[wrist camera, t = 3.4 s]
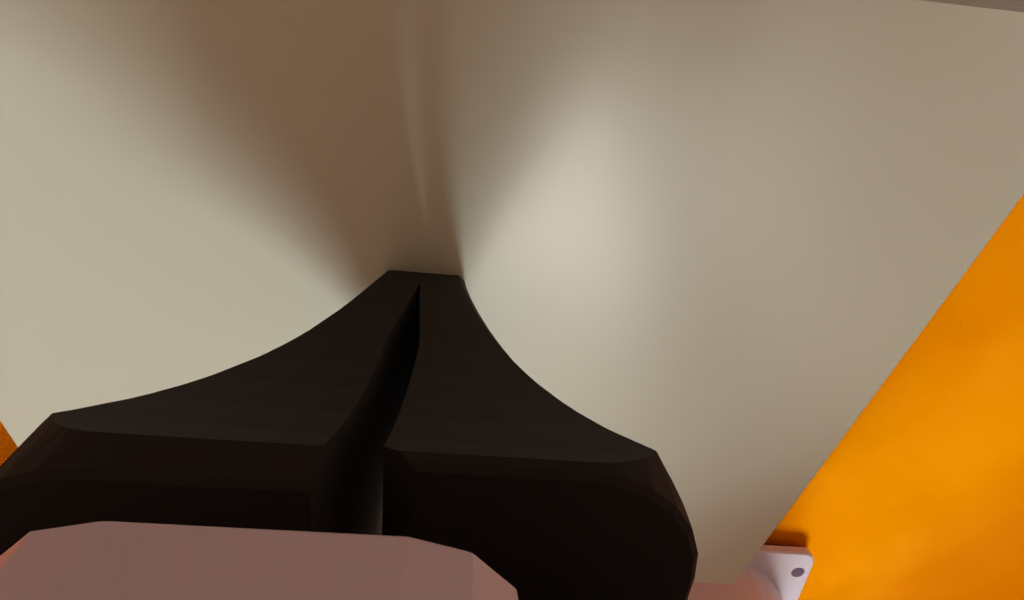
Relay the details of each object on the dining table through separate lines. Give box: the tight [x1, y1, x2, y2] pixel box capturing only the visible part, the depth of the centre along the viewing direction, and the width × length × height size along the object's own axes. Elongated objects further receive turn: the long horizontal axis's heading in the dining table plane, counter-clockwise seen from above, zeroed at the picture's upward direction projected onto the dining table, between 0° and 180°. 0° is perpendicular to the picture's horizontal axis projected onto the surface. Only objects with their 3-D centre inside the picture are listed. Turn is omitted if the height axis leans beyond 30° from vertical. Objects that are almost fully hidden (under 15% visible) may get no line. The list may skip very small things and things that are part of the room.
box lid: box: [0, 0, 1024, 584], centre depth 13 cm, size 17×18×1 cm
